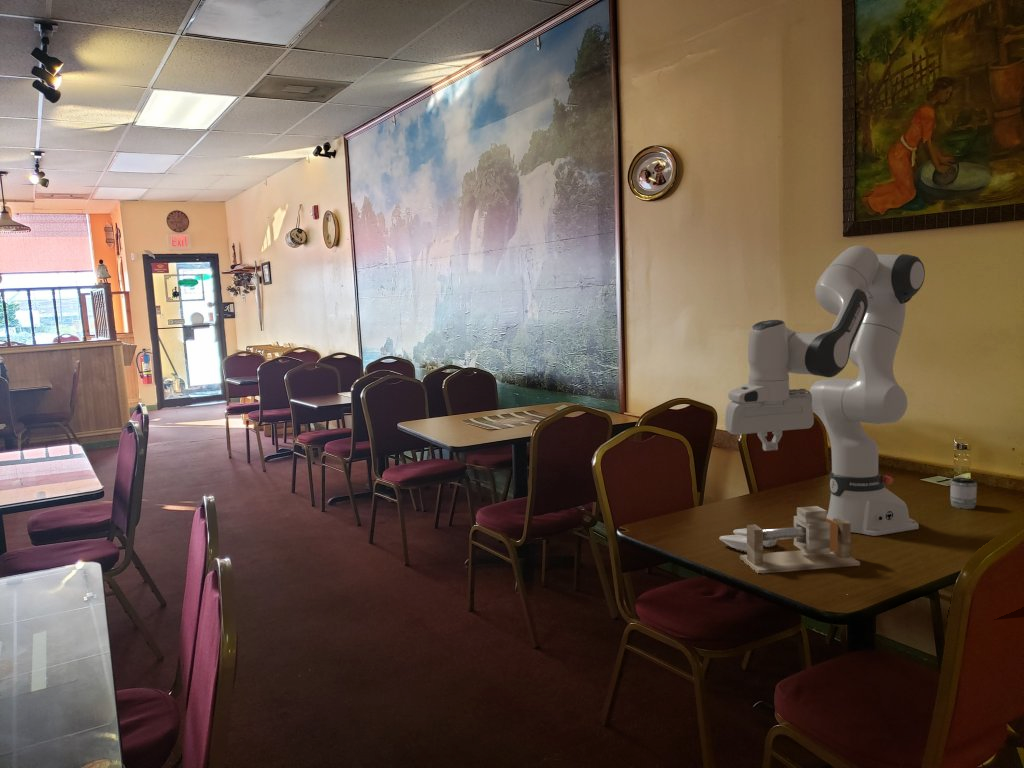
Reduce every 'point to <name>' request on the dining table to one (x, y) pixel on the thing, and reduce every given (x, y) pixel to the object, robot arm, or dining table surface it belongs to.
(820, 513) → the sleeve
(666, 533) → the dining table surface
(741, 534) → the pair of white wedges
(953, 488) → the grey cylinder
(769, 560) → the stand
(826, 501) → the dining table surface
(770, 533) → the pipe
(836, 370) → the robot arm
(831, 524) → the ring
